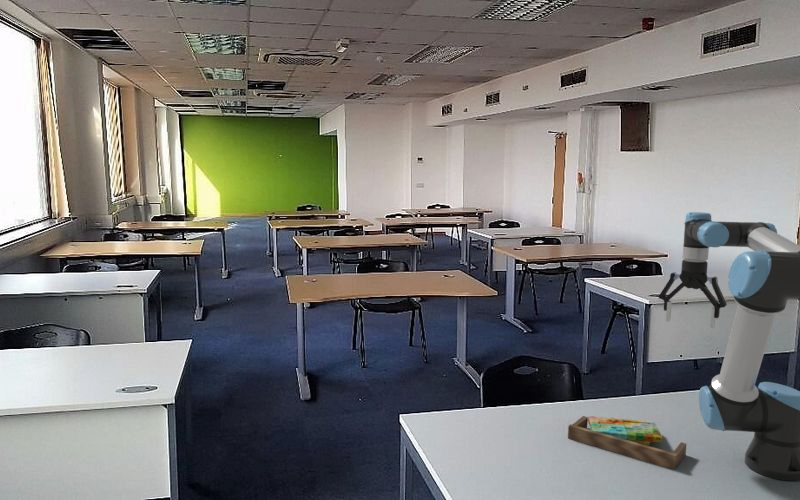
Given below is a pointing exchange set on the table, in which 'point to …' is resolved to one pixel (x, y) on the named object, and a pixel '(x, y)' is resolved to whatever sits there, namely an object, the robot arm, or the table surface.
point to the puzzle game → (627, 429)
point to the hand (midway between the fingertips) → (689, 324)
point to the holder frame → (625, 445)
